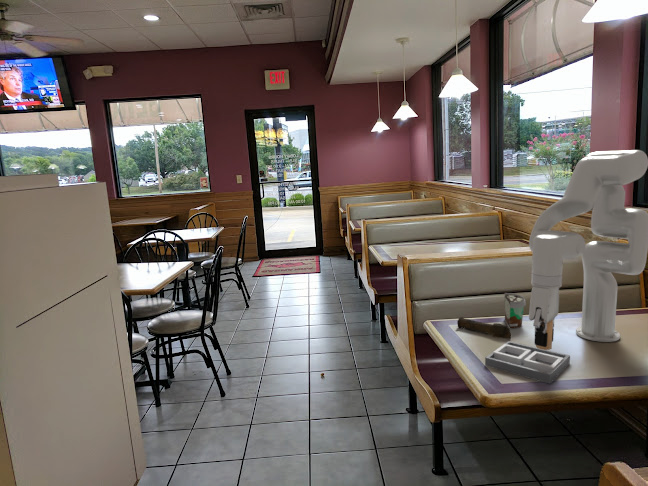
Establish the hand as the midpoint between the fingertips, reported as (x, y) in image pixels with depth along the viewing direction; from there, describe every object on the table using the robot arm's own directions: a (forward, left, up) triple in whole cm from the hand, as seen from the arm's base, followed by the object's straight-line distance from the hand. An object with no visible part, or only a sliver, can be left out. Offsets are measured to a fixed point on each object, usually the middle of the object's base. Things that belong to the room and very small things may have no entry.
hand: (543, 342), depth 131 cm
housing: (0, -4, -8) cm, 9 cm away
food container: (-31, -20, -8) cm, 38 cm away
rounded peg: (0, 0, -1) cm, 1 cm away
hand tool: (-17, -25, -8) cm, 32 cm away
